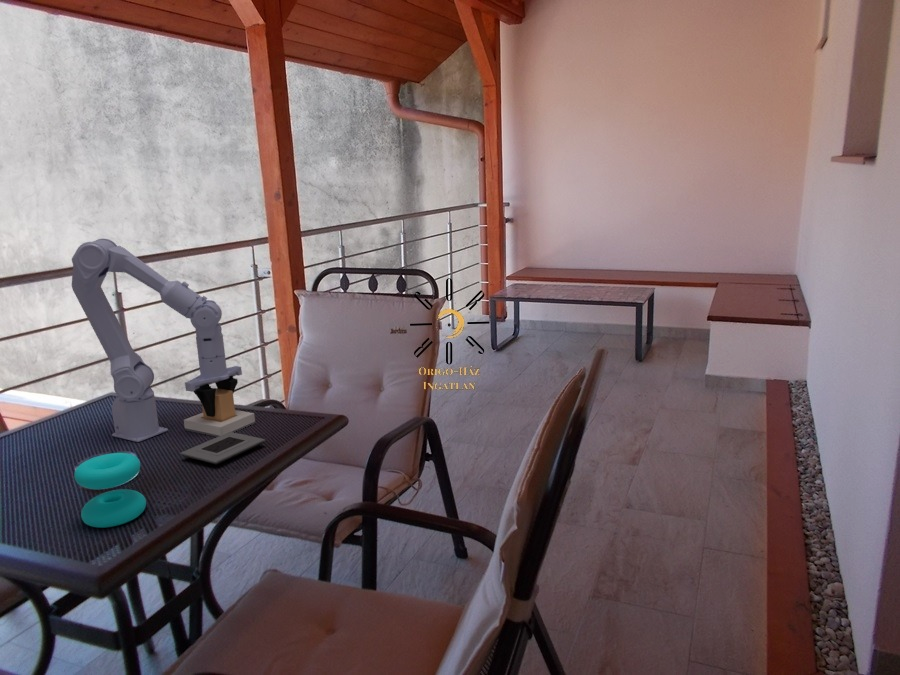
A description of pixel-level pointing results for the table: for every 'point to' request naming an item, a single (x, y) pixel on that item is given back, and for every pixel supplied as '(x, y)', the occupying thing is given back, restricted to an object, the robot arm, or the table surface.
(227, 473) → the table surface
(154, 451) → the table surface
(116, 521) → the donuts
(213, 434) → the socket block
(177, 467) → the table surface
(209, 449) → the electrical outlet
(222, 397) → the plug
